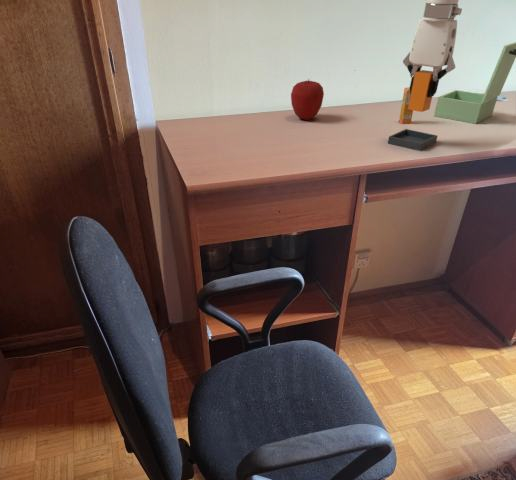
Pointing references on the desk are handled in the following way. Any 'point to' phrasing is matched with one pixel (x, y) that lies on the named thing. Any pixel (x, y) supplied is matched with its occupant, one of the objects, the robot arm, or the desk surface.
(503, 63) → the lunchbox lid
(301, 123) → the desk surface
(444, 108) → the box
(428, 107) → the orange block
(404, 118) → the supplement box
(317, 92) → the apple
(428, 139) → the tray
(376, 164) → the desk surface
